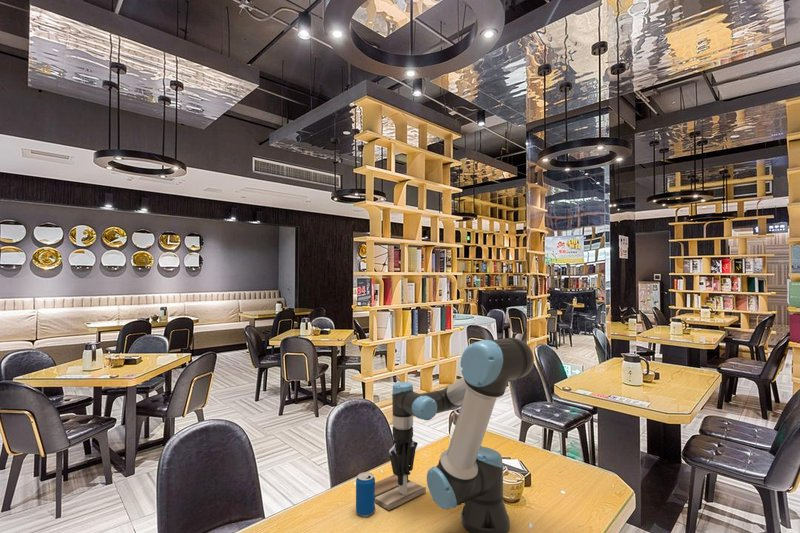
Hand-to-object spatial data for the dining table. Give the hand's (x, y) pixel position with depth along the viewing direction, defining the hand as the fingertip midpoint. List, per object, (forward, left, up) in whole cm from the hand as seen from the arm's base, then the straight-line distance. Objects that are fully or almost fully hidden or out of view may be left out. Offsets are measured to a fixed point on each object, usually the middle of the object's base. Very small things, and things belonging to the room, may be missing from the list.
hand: (403, 492), depth 141 cm
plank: (+1, 0, -2) cm, 2 cm away
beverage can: (+2, +15, -3) cm, 15 cm away
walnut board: (+10, 0, -2) cm, 10 cm away
